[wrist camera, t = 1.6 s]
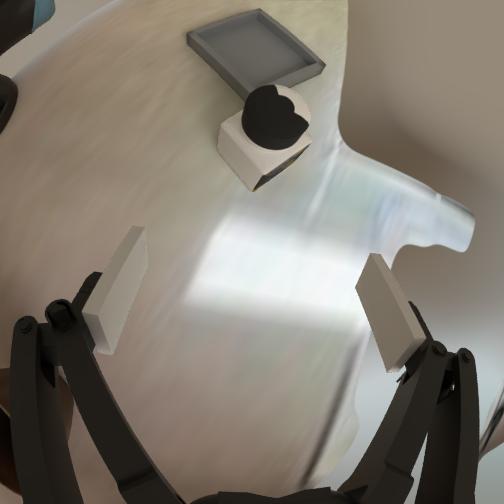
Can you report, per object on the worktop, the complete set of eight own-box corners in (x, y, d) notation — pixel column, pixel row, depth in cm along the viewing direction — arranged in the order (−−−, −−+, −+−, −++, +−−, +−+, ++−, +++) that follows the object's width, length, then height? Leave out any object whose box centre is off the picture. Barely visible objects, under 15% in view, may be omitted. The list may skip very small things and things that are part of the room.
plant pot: (14, 408, 25) (-40, 451, 9) (15, 324, 27) (-61, 348, 11) (94, 450, 27) (59, 519, 12) (103, 369, 29) (45, 431, 13)
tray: (186, 43, 33) (186, 33, 30) (256, 17, 35) (259, 8, 33) (251, 107, 34) (254, 98, 31) (320, 74, 36) (326, 65, 34)
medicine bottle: (251, 193, 33) (277, 156, 21) (215, 150, 33) (223, 96, 21) (294, 162, 34) (334, 119, 23) (259, 122, 34) (283, 66, 22)
